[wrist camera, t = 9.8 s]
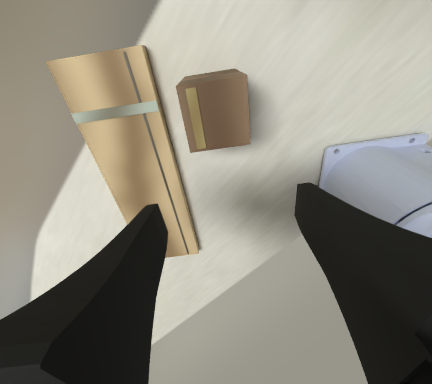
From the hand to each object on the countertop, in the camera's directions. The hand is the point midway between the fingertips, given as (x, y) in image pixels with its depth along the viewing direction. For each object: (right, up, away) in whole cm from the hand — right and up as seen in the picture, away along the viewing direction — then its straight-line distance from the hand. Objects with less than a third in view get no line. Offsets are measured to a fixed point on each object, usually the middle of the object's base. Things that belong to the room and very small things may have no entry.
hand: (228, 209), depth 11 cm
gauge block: (-1, +9, +7) cm, 11 cm away
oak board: (-8, +2, +11) cm, 13 cm away
